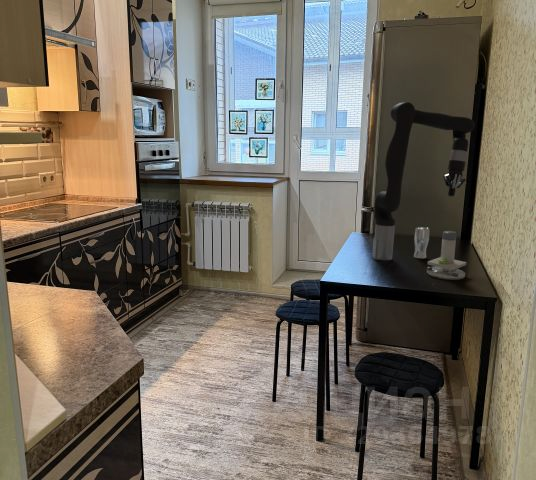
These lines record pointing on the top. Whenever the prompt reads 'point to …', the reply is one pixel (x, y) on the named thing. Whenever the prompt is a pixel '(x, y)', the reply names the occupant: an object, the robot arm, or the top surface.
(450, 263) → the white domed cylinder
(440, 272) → the base
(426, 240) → the beer glass
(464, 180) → the robot arm
